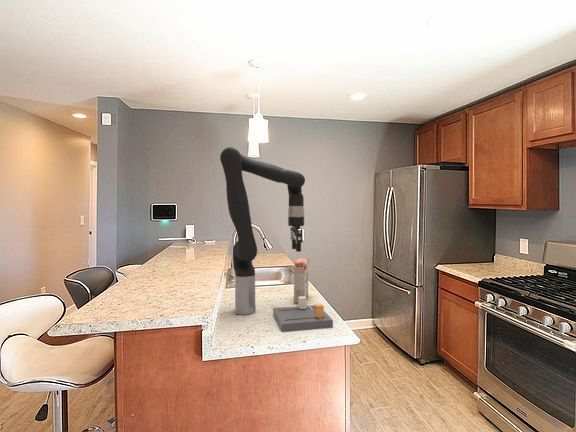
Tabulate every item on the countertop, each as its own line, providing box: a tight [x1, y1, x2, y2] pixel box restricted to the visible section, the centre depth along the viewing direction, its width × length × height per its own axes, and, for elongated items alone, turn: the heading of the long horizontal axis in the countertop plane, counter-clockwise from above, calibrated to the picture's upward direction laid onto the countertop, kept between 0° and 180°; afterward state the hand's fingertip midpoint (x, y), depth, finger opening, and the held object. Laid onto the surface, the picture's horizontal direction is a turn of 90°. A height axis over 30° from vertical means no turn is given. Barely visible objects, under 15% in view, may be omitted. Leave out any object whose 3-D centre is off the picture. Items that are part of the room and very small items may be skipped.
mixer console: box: [272, 304, 334, 333], centre depth 137 cm, size 21×20×3 cm
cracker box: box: [293, 257, 310, 304], centre depth 167 cm, size 14×6×21 cm, turn 168°
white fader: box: [297, 296, 308, 309], centre depth 143 cm, size 3×3×5 cm
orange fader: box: [313, 303, 325, 318], centre depth 132 cm, size 3×3×5 cm
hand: (296, 250), depth 151 cm, fingers open, 8 cm apart
